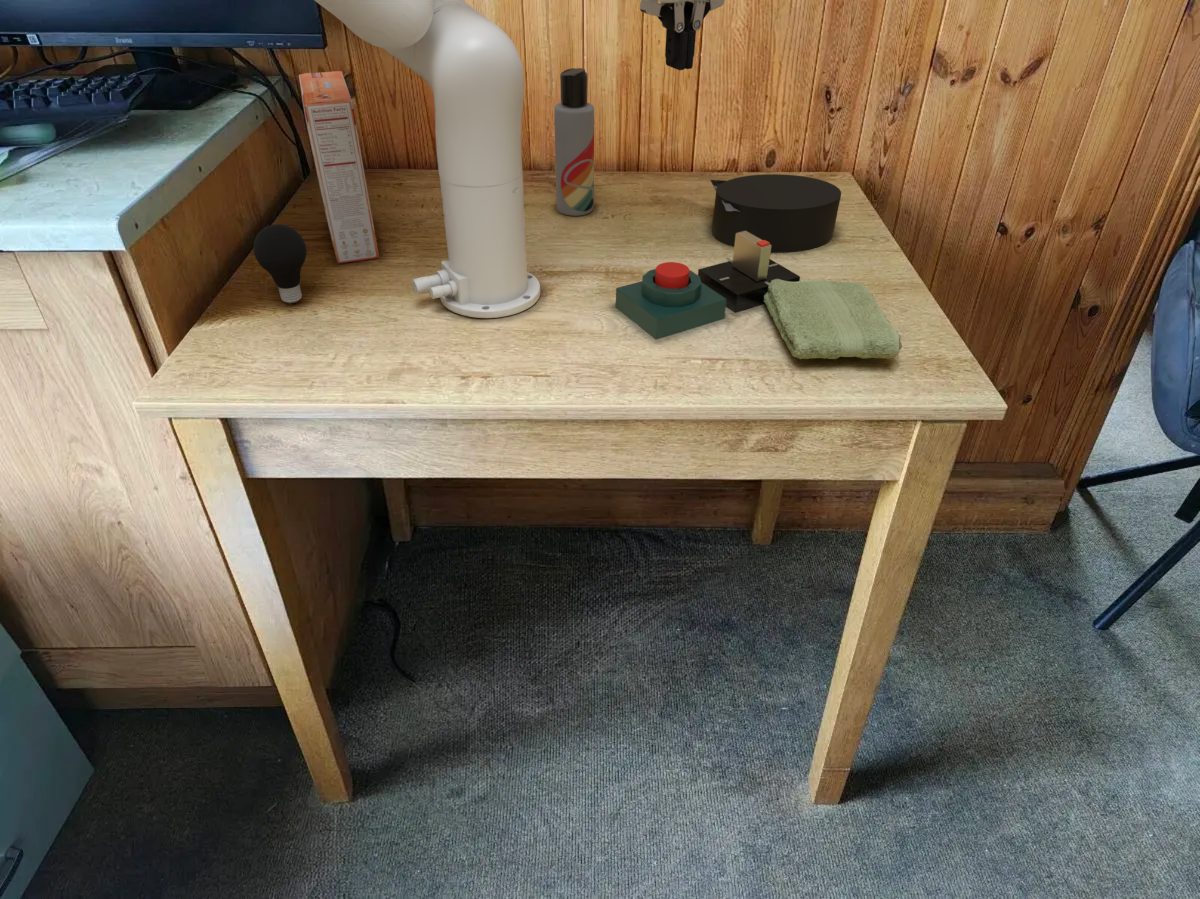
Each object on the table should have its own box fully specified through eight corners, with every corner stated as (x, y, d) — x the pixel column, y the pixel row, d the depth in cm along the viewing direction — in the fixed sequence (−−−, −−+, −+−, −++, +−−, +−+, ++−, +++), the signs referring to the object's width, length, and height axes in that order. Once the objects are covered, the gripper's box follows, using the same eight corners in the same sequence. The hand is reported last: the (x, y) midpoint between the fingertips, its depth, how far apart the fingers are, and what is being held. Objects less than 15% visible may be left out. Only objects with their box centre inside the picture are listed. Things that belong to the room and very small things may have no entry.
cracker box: (327, 225, 122) (296, 72, 109) (369, 220, 124) (344, 68, 111) (334, 265, 112) (301, 101, 99) (380, 260, 113) (354, 97, 100)
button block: (656, 340, 97) (658, 305, 95) (615, 307, 103) (616, 274, 101) (724, 319, 101) (728, 285, 99) (681, 289, 108) (684, 256, 105)
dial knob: (731, 266, 107) (735, 231, 104) (741, 263, 108) (745, 228, 105) (756, 281, 104) (761, 245, 101) (766, 278, 104) (772, 243, 102)
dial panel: (738, 315, 102) (740, 295, 101) (693, 285, 108) (695, 266, 107) (800, 296, 106) (803, 277, 105) (754, 268, 112) (756, 249, 111)
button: (667, 293, 98) (668, 279, 97) (648, 279, 100) (649, 266, 99) (695, 285, 99) (696, 272, 98) (675, 272, 102) (676, 259, 101)
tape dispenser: (843, 258, 118) (857, 206, 113) (718, 252, 116) (727, 199, 111) (814, 220, 129) (826, 171, 125) (700, 214, 127) (707, 165, 123)
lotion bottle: (593, 217, 125) (594, 75, 113) (555, 216, 126) (551, 74, 113) (594, 202, 130) (595, 64, 118) (557, 201, 130) (554, 63, 118)
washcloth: (862, 294, 106) (866, 270, 104) (905, 364, 91) (911, 338, 89) (758, 296, 106) (761, 272, 104) (785, 366, 91) (789, 340, 89)
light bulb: (267, 317, 100) (246, 239, 94) (269, 295, 105) (249, 218, 99) (318, 311, 102) (300, 233, 96) (317, 290, 106) (301, 214, 100)
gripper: (726, -129, 92) (711, 52, 103) (610, -125, 85) (607, 67, 97) (771, -124, 87) (749, 66, 98) (650, -120, 80) (642, 83, 92)
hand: (678, 66), depth 97 cm, fingers closed
